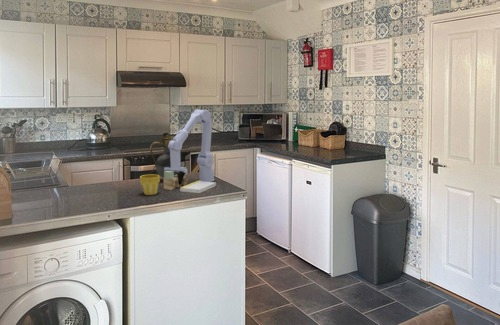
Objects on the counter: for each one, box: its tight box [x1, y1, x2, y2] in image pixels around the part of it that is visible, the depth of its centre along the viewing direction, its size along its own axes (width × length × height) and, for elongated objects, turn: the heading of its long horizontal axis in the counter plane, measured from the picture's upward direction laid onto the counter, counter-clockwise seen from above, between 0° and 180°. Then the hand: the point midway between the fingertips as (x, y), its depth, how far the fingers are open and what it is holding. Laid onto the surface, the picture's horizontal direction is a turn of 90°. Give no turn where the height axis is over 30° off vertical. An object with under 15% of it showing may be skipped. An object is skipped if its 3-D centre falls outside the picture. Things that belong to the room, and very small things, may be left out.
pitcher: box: [149, 132, 183, 182], centre depth 262 cm, size 11×19×30 cm, turn 118°
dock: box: [179, 180, 217, 194], centre depth 243 cm, size 20×12×2 cm, turn 157°
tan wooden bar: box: [163, 173, 189, 191], centre depth 248 cm, size 18×5×6 cm, turn 157°
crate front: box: [163, 171, 174, 179], centre depth 241 cm, size 4×4×4 cm
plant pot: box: [139, 174, 161, 196], centre depth 230 cm, size 10×10×10 cm
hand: (176, 183), depth 248 cm, fingers closed on tan wooden bar, 5 cm apart
